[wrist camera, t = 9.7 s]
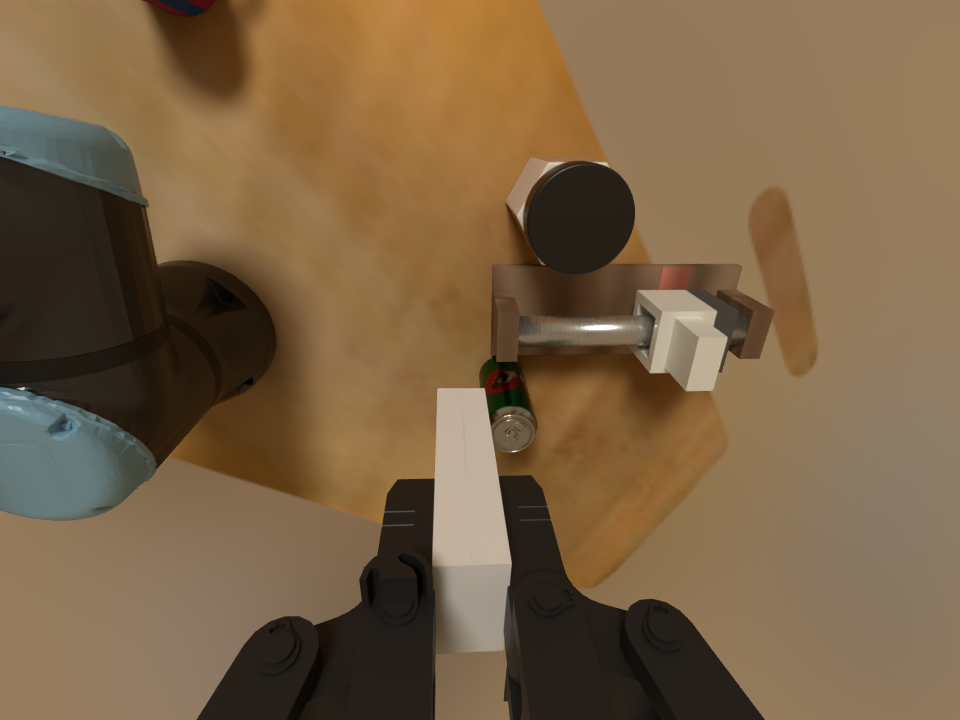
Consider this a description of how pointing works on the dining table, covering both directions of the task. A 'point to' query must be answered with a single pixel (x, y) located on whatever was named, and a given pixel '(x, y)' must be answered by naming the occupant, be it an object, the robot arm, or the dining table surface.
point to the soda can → (508, 405)
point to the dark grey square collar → (719, 316)
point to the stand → (609, 301)
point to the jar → (572, 212)
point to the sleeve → (681, 338)
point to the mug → (183, 6)
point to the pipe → (598, 330)
